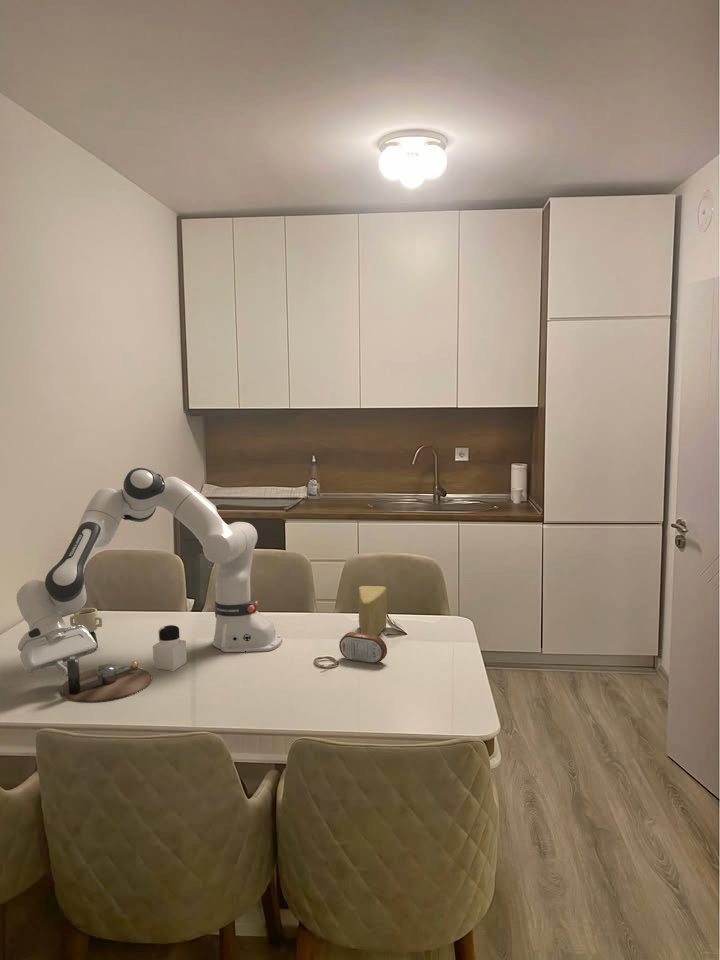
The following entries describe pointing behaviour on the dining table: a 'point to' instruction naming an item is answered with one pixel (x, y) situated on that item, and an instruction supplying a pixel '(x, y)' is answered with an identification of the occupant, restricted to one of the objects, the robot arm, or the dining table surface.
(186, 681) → the dining table surface
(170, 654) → the medicine bottle
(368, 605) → the cheese
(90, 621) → the character mug
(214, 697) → the dining table surface
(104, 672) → the crank lever
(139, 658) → the dining table surface
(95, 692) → the stand
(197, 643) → the dining table surface
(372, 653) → the tin
